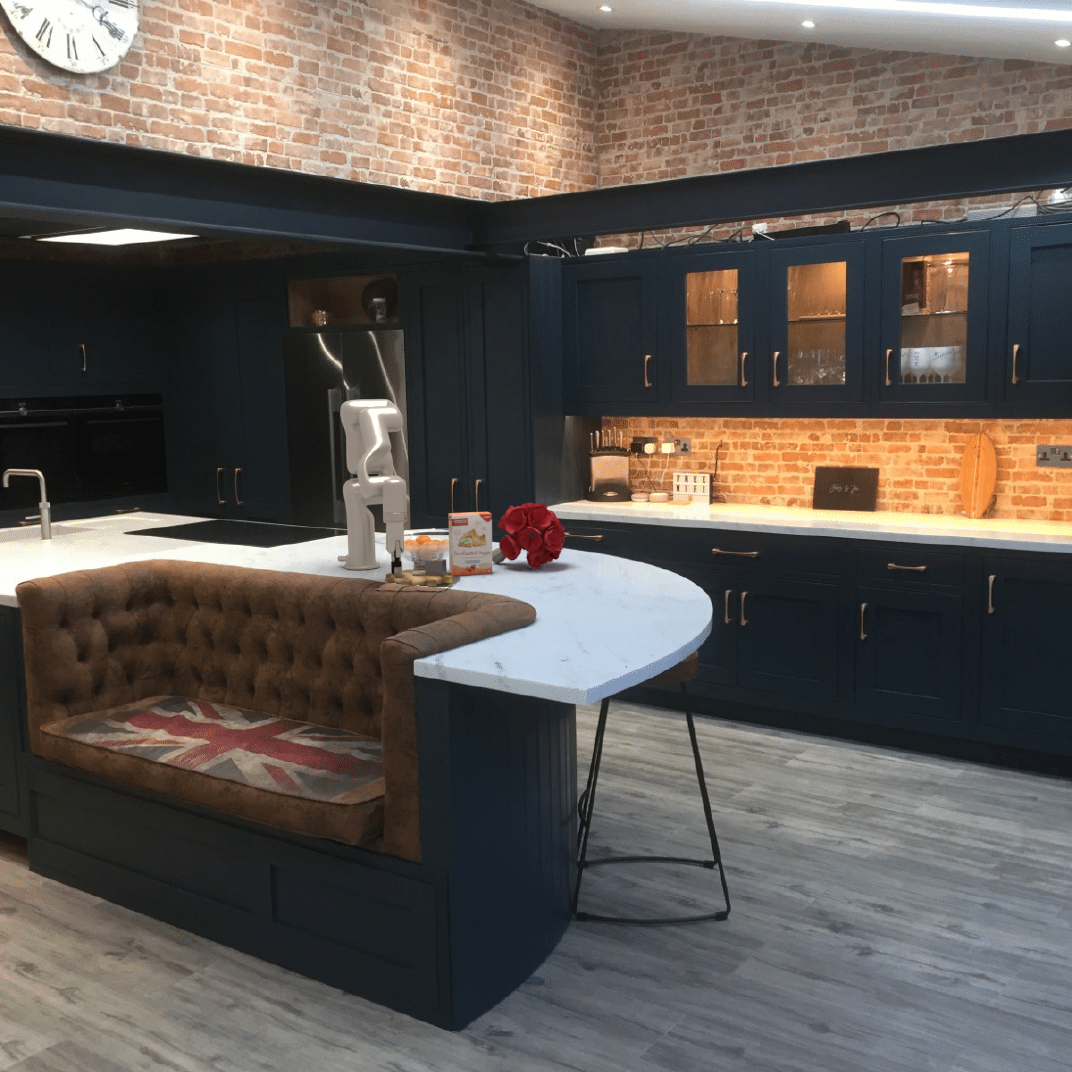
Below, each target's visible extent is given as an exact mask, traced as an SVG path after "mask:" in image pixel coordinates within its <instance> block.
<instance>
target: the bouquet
mask: <svg viewBox="0 0 1072 1072" xmlns="http://www.w3.org/2000/svg"><path fill="white" fill-rule="evenodd" d="M497 527H498V528H499V529H500V530H504V531H506V532H507V533H508V534H505V535H504V536H503V537H501V538H500V539H499V542H498V543H499V545H498V546H499V547H497V548H494V549H492V563H494V564H496V565H499V564H501V563H502V562H504V561H505V560H506V559H508V560H509V561H510V562H513V561H516V560H517V559H518V558H519V556H520V555H521V553H522V550H523V551H526V557H525V558H526V561H527V565H528V566H529V568H531V569H539V568H541V567H542V566H544V565H546V564H548V563H552V562H553V561H557V560H559V558H560V555H561V553H562V550H563V549H564V547H563V545H564V544H565V538H566V536H565V535H566V533H565V532H564V531H565V530H566V527H564V526H563V524H561V521H560V520H559V518H558V517H557V516H556V514H555V512H554V510H551V509H548V504H545V503H539V502H538V503H537V502H535V503H534V502H526V503H522V504H521V505H517V506H516V507H515V506H513V505H510V506H509V508H508V509H507V510H506V511H505V513H504V514H503V515H502V516H501V517H500V520H499V522H498V523H497Z"/></svg>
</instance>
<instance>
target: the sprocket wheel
mask: <svg viewBox="0 0 1072 1072" xmlns="http://www.w3.org/2000/svg"><path fill="white" fill-rule="evenodd" d="M394 573H395V574H392V573H390V572H389V573H386V574H385V578H384V583H396V584H401V585H419V586H428V587H433V586H436V585H437V584H442V583H451V582H453V577H454V576H452V572H450V570H447V575H445V576H443V577H442V576H425V569H424V570H411V569H406V570H403V566H402V567H394Z"/></svg>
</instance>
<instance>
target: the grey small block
mask: <svg viewBox="0 0 1072 1072" xmlns="http://www.w3.org/2000/svg"><path fill="white" fill-rule="evenodd" d="M424 570H425V576H442V577H443V576H445V575H447V571H448V569H447V559H446V558H445V559H444V558H427V559H424Z"/></svg>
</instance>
